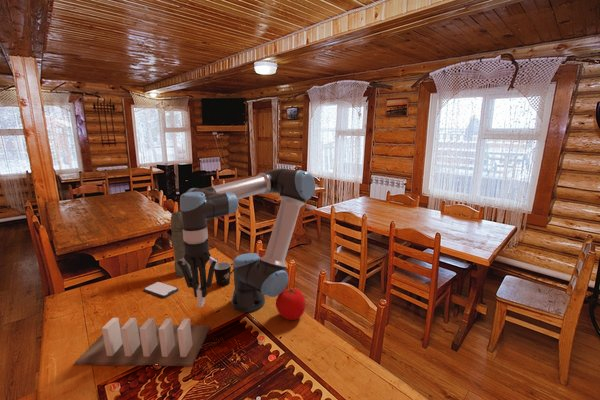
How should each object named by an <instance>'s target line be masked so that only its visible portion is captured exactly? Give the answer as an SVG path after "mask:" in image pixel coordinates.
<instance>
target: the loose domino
mask: <svg viewBox="0 0 600 400" xmlns="http://www.w3.org/2000/svg"><path fill="white" fill-rule="evenodd" d="M177 332H178V341H179V349H180V357H186V356H187V354H188V352H189V351H190V349H191V347H192V335H191V318H185V317H184V318H183V319H182V321H181V323H180V326H179V327H178V329H177Z"/></svg>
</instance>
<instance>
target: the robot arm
mask: <svg viewBox="0 0 600 400" xmlns="http://www.w3.org/2000/svg"><path fill="white" fill-rule="evenodd" d="M315 192H316V181H315V178H314V175H312V174H311V172H308V171H305V170H302V169H292V168H291V169H289V168H277V169H271V170H268V171H267V170H266V171H263V172H259V173H258V174H257V175H256V176H252V177H247V178H243V179H239V180H234V181H230V182H225V183H221V184H218V185H217V184H216V185H213V186H208V187H203V188H199V187H192V188H189V189H188V190H186V192H184V193H183V194H181V195H180V198H179V210H180V211H181V218H182V228H183V240H184V241H185V242H184V251H185V255H184V258H181V259H180V260H179V261H178V262H177V264H178V265H179V266H180V267H181V269H182V272H183V275H184V277H183V278H184V280H185V284H186V286H187V287H188V288H191V289H193V295H194V298H196V302H197V307H198V308H203V307H204V306H205V303H206V299H205V298H206V297H207V295H208V291H207V290H208V288H209V289H210V287H211V285H212V283H213V278H214V275H215V272H214V269H215V264H217V263H218V262H219V260H218V258H214V257H212V256H211V253H210V247H209V246H210V244H209V234H208V220H212V219H215V218H220V217H224V216H225V217H226V216H229V215H231V214H234V213H236V212H237V211H238V209H239V200H241V199H244V198H245V199H246V198H248V197H251V196H255V195H258V194H263V195H268V194H278V195H279V196H278V197H279V199H280V205H279V208H278V211H277V215H276V218H275V221H274V224H273V227H272V231H271V235H270V238H269V241H268V244H267V247H266V251H265V253H264V255H263V256H262V257H260V255H259V253H256V252H248V253H242V254H239V255H238V256H236V257H234V259H233V262H232V264H233V265H232V268H233V269H232V270H233V285H234V290H233V294H232V296H231V299H230V301H231V308H232V309H234V310H235V311H237V312H240V313H252V312H256V311H258V310H260V309H261V308H262V307H264V305H265V303H266V296H267V297H270V298H275V297H278V295H279V294H280V293H282V292H283V291H284V290H286V289H287V286H288V283H289V274H288V272H287V271H286V269H287V264H286V262H285V261H286V258H287V254H288V251H289V247H290V243H291V240H292V237H293V234H294V230H295V227H296V223H297V219H298V216H299V214H300V213H299V212H300V210H301V207H303V206H304V205H306V202H307V200H310V199H311V198H312V197H313V196H314V194H315ZM208 262H209V264H208ZM187 263H188V264H189V265H190V267H191V271H192V274H191V273H190V270H189V267H188V265H187ZM207 264H208V265H209V268H208V273H207V271H206V267H207Z"/></svg>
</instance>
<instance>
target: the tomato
mask: <svg viewBox="0 0 600 400" xmlns="http://www.w3.org/2000/svg"><path fill="white" fill-rule="evenodd" d="M276 297H277V298H276V300H275V306H276V307H275V308H276V310H277V312H278V314H279V315H280V316H282V318H284V319H285V320H286V319H287V320H289V321H294V320H297V319H299V318H301V317H302V316H303V314H304V312H305V309H306V300H305V298H304V295H303V293H302V291H300V290H299V289H298V288H294V287H288V288H285V289H284V291H283V292H282V293H280V294H279V295H278V296H276Z"/></svg>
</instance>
